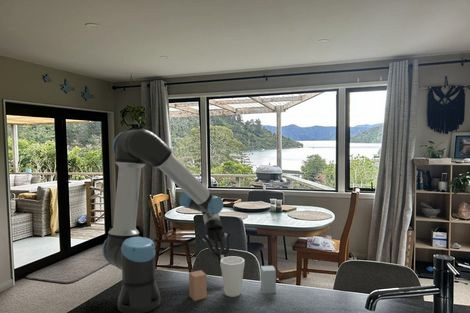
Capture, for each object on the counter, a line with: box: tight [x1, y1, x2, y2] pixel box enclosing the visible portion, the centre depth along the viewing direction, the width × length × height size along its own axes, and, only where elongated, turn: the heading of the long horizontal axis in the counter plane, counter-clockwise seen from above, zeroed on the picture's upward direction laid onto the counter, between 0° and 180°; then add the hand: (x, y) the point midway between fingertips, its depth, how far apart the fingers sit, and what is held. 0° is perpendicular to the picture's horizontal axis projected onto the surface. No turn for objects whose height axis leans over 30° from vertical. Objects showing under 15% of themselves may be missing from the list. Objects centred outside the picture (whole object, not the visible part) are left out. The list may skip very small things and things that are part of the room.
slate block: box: [260, 265, 277, 294], centre depth 130 cm, size 5×5×9 cm
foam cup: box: [219, 255, 246, 298], centre depth 128 cm, size 10×9×13 cm
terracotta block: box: [188, 269, 208, 302], centre depth 125 cm, size 5×5×9 cm
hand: (225, 270), depth 137 cm, fingers closed
